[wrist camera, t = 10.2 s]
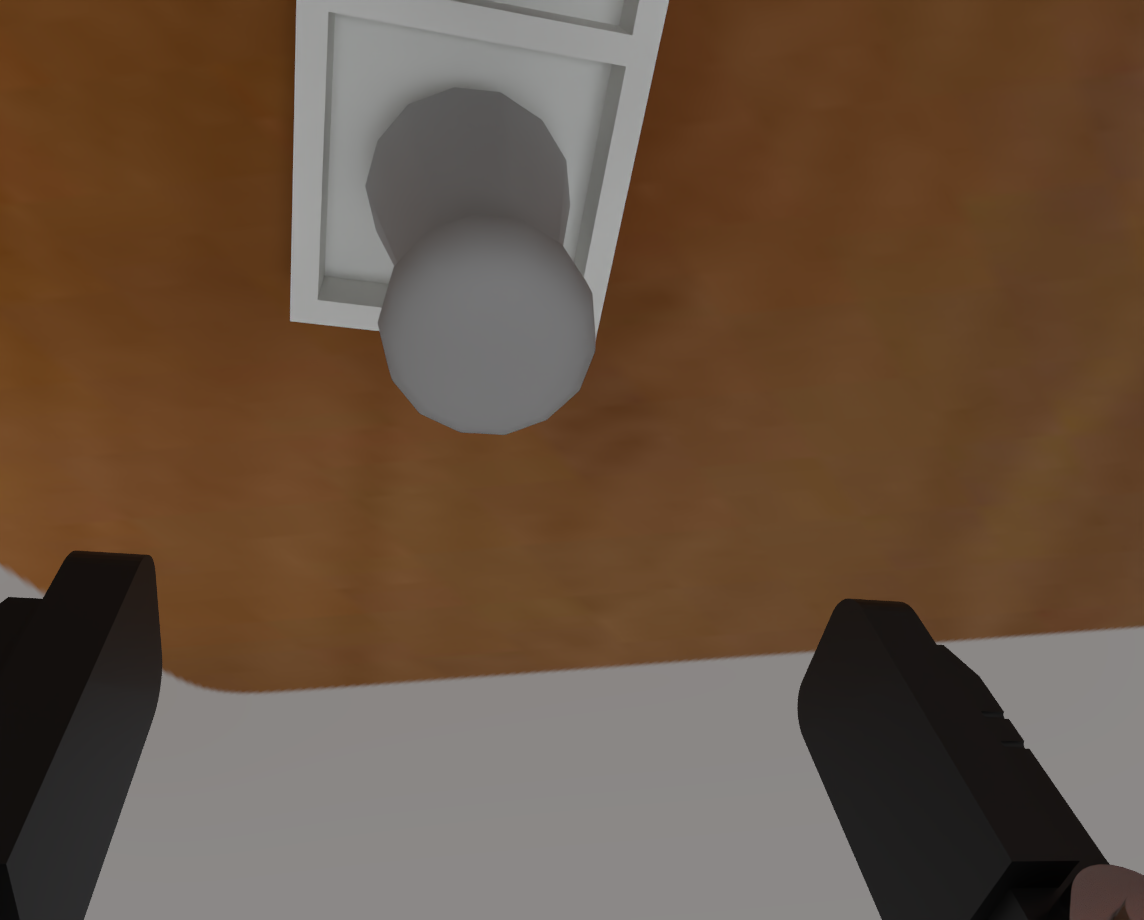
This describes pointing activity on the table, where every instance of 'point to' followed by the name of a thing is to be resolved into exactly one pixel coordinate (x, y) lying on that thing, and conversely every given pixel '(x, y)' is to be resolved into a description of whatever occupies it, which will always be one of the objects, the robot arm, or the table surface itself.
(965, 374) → the table surface
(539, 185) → the salt shaker
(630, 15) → the caddy
